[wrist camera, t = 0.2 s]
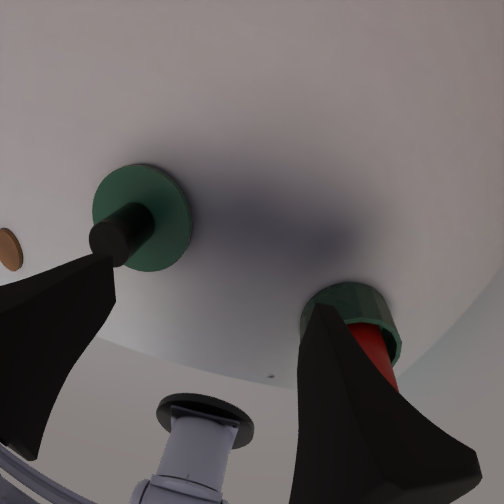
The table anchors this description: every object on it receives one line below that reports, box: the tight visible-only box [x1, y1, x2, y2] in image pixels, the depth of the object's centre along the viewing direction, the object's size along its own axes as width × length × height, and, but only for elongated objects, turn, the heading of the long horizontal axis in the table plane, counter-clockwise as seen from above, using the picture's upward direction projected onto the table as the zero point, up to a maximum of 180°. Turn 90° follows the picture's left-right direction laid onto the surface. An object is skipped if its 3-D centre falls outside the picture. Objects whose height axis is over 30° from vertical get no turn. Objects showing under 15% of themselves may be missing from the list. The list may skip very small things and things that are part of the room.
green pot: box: [300, 283, 402, 368], centre depth 17 cm, size 6×6×4 cm
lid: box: [89, 165, 192, 272], centre depth 15 cm, size 6×6×4 cm
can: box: [346, 322, 399, 392], centre depth 14 cm, size 4×4×8 cm
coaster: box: [0, 228, 23, 271], centre depth 20 cm, size 4×4×1 cm
